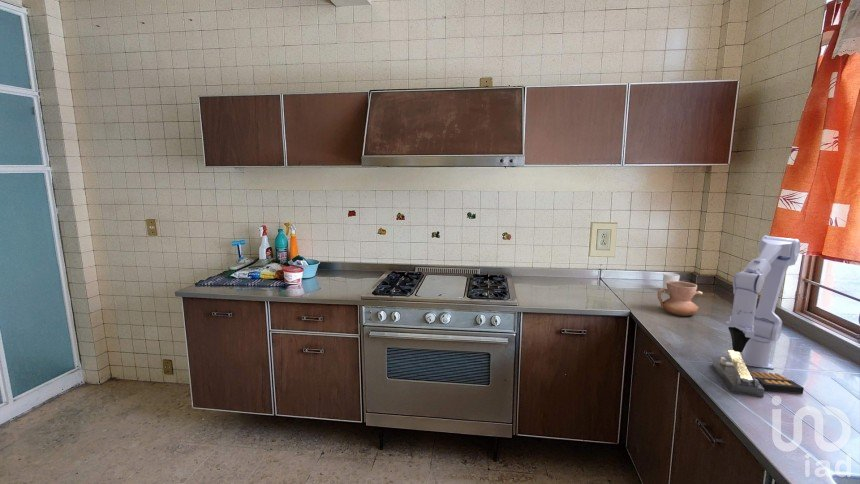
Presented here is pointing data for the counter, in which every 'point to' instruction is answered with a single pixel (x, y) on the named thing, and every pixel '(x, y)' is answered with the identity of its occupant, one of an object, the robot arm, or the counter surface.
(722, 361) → the lug
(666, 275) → the white cup
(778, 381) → the ammunition clip
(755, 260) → the robot arm
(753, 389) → the block
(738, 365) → the tan long flat bar
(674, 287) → the ceramic jug
